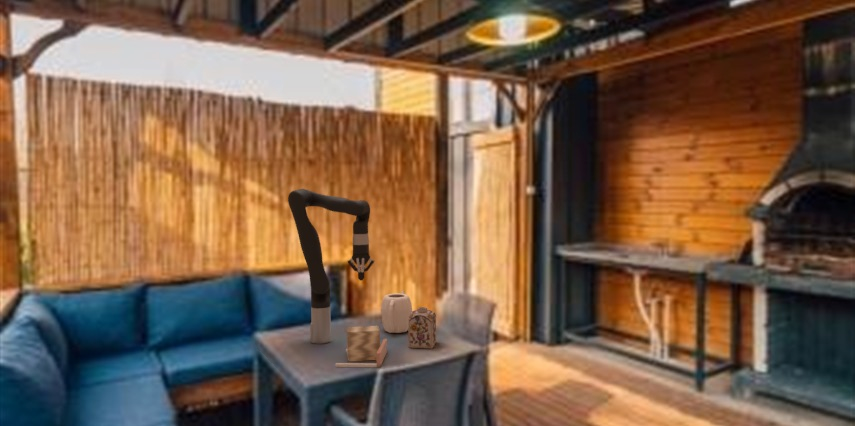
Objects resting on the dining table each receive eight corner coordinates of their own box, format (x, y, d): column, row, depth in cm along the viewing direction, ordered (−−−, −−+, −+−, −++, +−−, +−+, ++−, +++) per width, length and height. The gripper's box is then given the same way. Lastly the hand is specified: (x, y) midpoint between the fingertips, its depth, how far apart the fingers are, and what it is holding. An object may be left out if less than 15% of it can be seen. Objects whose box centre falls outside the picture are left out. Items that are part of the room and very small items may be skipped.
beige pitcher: (417, 324, 331) (417, 290, 330) (405, 337, 305) (405, 300, 304) (389, 323, 335) (389, 289, 334) (375, 336, 309) (375, 299, 308)
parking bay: (335, 366, 260) (335, 352, 260) (346, 351, 283) (346, 338, 282) (380, 367, 259) (379, 353, 258) (387, 351, 282) (387, 338, 281)
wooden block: (348, 361, 267) (347, 332, 267) (347, 355, 276) (346, 327, 275) (380, 359, 270) (379, 330, 269) (378, 353, 279) (377, 325, 278)
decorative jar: (432, 349, 285) (432, 310, 284) (408, 348, 287) (407, 310, 286) (436, 342, 297) (436, 305, 296) (413, 341, 299) (412, 304, 298)
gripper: (345, 244, 282) (345, 281, 284) (373, 244, 282) (374, 281, 283) (348, 242, 290) (348, 278, 291) (376, 242, 289) (376, 278, 290)
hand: (361, 280), depth 287 cm, fingers closed
